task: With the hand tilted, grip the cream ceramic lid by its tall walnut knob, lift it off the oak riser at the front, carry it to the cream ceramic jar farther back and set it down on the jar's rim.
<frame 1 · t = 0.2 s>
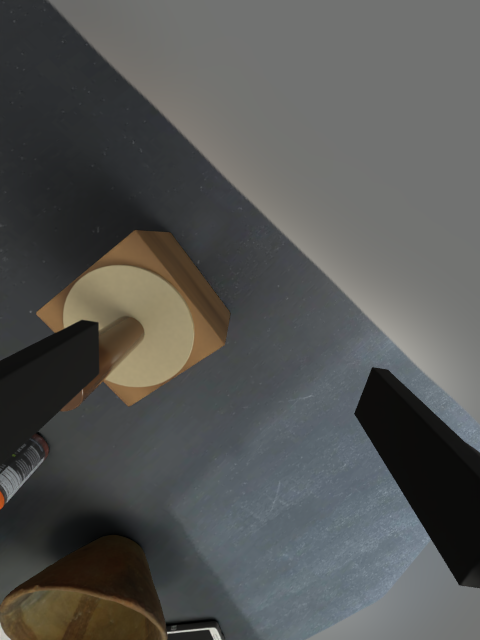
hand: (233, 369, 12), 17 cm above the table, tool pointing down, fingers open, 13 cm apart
supplement bottle: (31, 443, 36), on the table
plate: (8, 636, 53), on the table
cell phone: (187, 632, 51), on the table
bowl: (117, 548, 43), on the table
lid: (131, 329, 20), point 9 cm above the table, touching riser
riser: (164, 302, 29), on the table
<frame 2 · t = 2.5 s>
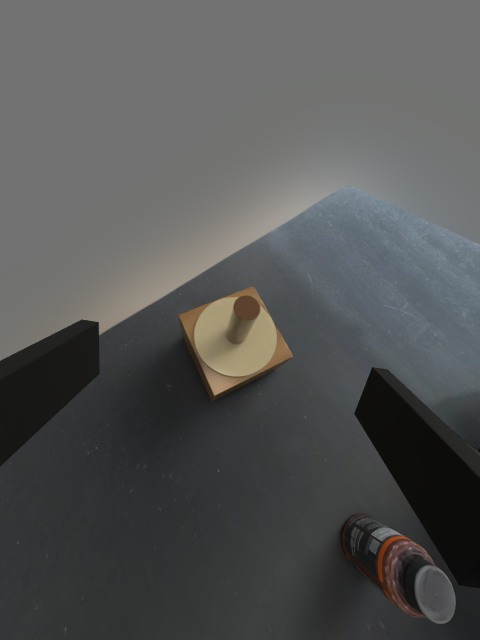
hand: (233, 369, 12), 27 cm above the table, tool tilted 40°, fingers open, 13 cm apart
supplement bottle: (360, 539, 33), on the table
lid: (235, 335, 31), point 9 cm above the table, touching riser
riser: (228, 353, 39), on the table
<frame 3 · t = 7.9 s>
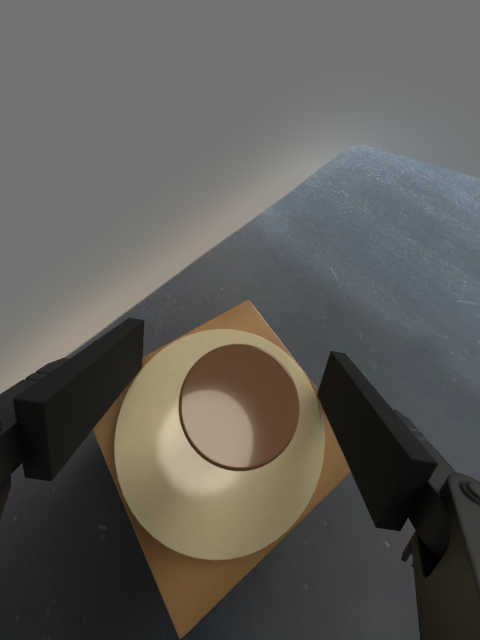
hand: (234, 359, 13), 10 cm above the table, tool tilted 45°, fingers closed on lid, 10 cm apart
lid: (223, 424, 13), point 9 cm above the table, touching gripper, riser
riser: (219, 430, 21), on the table
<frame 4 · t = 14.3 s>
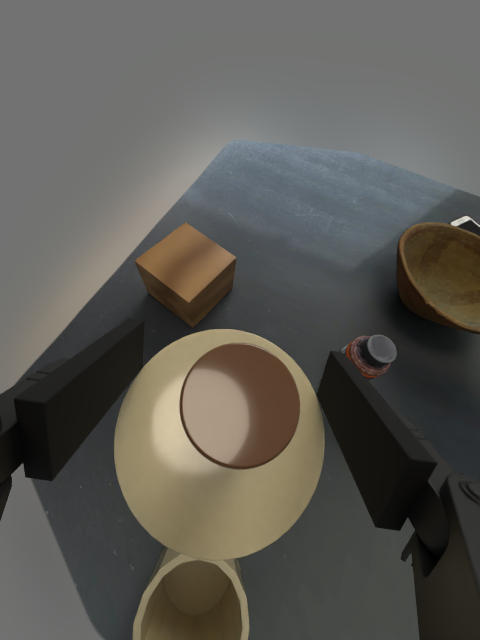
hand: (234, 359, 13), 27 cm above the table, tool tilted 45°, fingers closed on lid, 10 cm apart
supplement bottle: (341, 370, 43), on the table
jar: (198, 564, 30), on the table
cell phone: (476, 241, 61), on the table
bowl: (418, 300, 51), on the table
lid: (223, 424, 13), point 26 cm above the table, touching gripper
riser: (191, 290, 46), on the table
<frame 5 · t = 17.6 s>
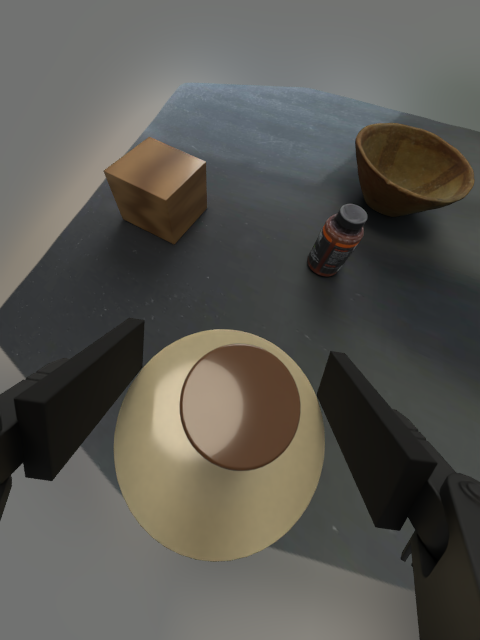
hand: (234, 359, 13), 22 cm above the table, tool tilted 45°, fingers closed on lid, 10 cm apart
supplement bottle: (321, 265, 45), on the table
bowl: (381, 202, 55), on the table
lid: (223, 424, 13), point 20 cm above the table, touching gripper
riser: (166, 213, 46), on the table
when the fingers open (12 cm above the table, at t = 20.6 s): lid stays where it is, resting on jar.
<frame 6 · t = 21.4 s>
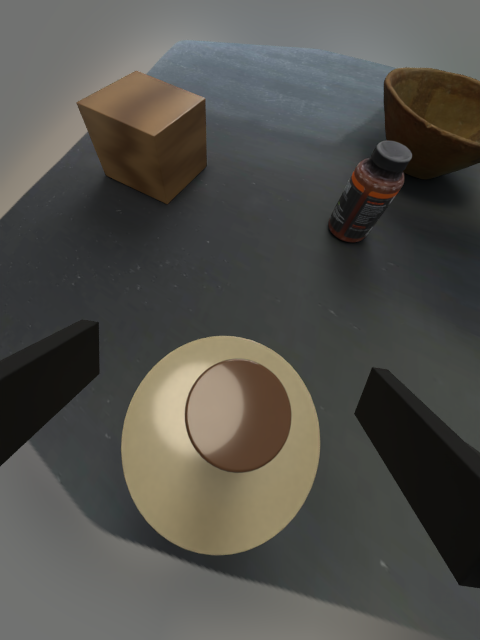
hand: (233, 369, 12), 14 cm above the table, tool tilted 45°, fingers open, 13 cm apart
supplement bottle: (345, 230, 37), on the table
bowl: (410, 165, 47), on the table
lid: (224, 427, 14), point 11 cm above the table, touching jar
riser: (158, 170, 39), on the table
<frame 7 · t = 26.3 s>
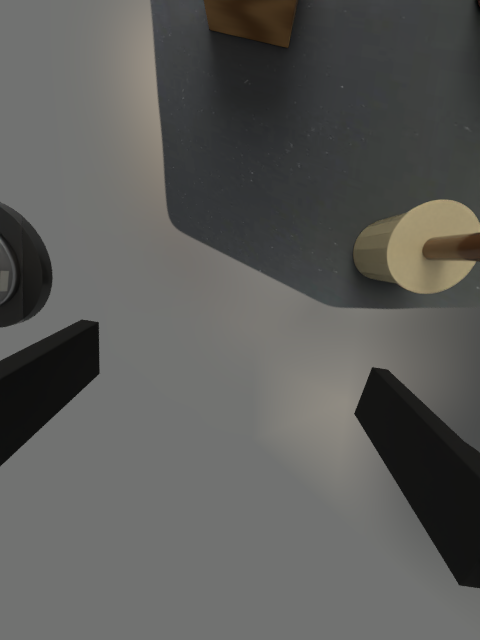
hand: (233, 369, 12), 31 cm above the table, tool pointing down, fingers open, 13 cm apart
jar: (382, 250, 39), on the table
lid: (430, 248, 29), point 11 cm above the table, touching jar
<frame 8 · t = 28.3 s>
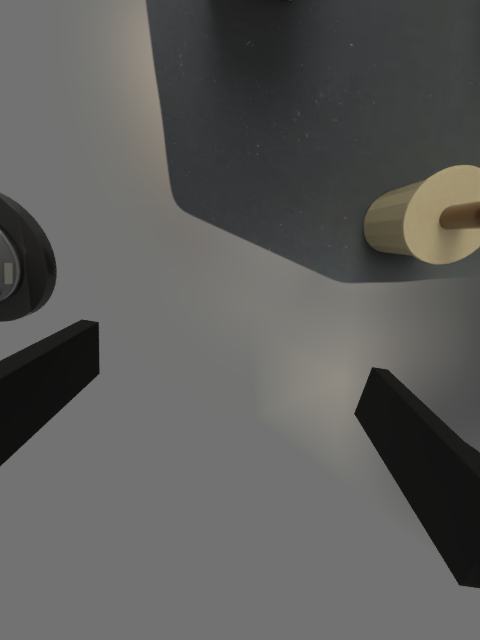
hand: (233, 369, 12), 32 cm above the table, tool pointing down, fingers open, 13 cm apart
jar: (393, 222, 39), on the table
lid: (447, 217, 28), point 11 cm above the table, touching jar
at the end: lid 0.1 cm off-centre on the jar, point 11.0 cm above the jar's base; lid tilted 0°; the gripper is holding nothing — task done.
